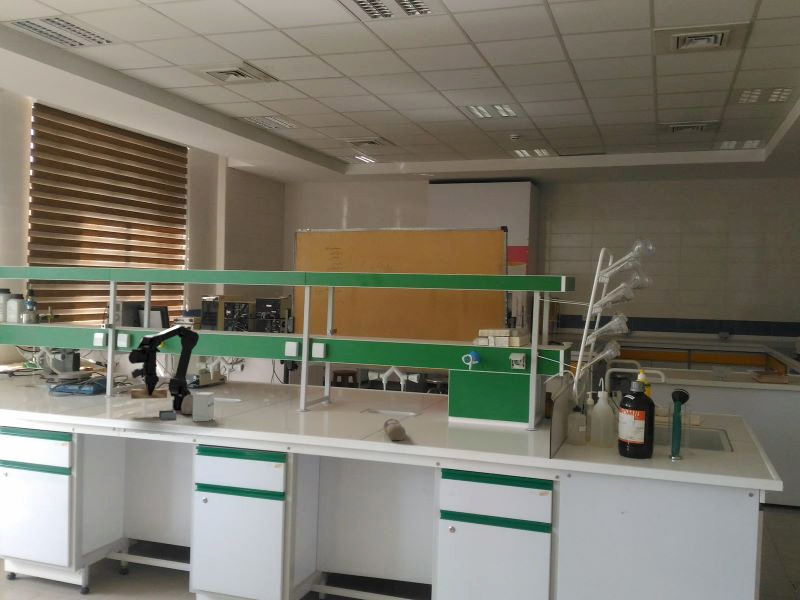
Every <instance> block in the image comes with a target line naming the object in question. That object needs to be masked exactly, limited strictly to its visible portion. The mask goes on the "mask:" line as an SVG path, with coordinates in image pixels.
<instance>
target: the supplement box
mask: <svg viewBox="0 0 800 600" xmlns="http://www.w3.org/2000/svg"><path fill="white" fill-rule="evenodd" d="M192 395H193V415H192V422H197V421H208V422H210V421H212V420H211V419H213V418H214V419H215V392H207V391H205V392H204V391H199V392H197V393H194V394H193V393H192ZM214 419H213V420H214ZM209 420H210V421H209Z"/></svg>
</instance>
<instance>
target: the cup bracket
mask: <svg viewBox="0 0 800 600" xmlns="http://www.w3.org/2000/svg"><path fill="white" fill-rule="evenodd" d="M158 411H159V413H158V417H159V419H160V420H162V421H164V420H163V419H168V420H177V412H176V410H174V409H173V410H172V409H169V410H168V409H167V410H158Z"/></svg>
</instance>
